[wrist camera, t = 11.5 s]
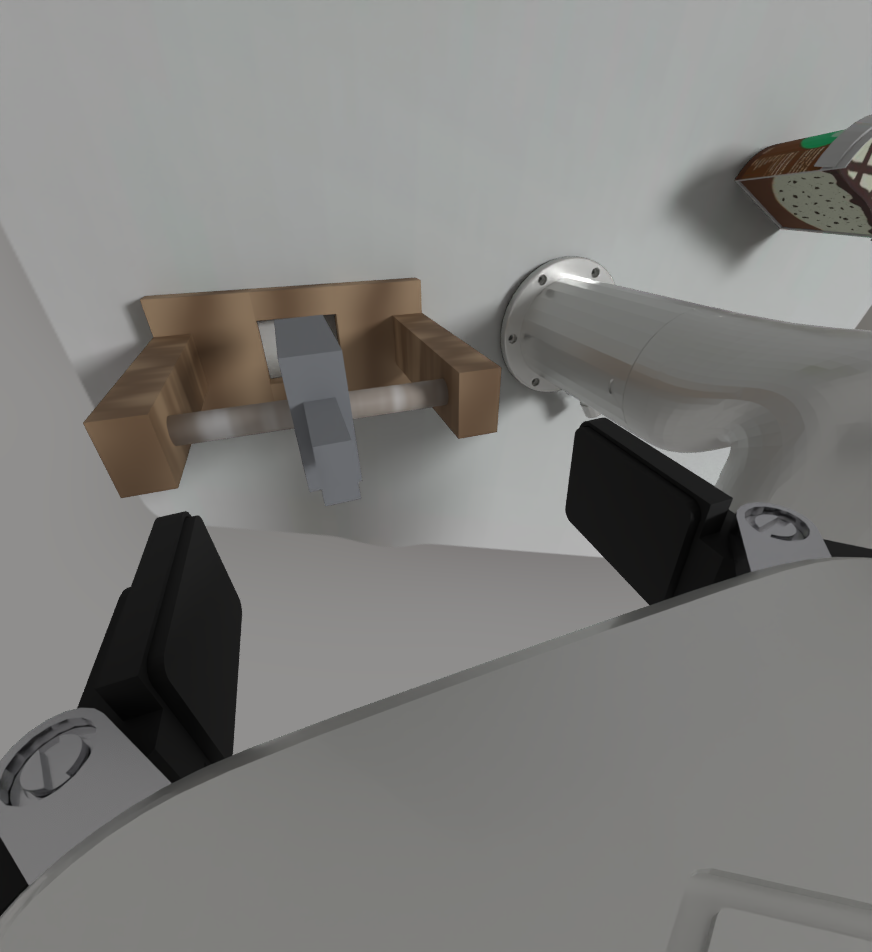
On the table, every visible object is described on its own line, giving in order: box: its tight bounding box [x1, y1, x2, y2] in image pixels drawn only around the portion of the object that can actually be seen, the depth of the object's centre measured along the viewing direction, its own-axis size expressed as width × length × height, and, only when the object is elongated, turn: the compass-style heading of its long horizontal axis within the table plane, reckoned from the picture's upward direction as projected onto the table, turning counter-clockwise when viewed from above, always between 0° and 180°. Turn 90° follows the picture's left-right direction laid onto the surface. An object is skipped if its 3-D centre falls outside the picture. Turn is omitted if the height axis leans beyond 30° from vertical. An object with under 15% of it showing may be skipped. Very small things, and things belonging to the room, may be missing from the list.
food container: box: [734, 115, 872, 241], centre depth 38 cm, size 12×6×10 cm, turn 64°
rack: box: [83, 278, 501, 498], centre depth 29 cm, size 20×9×16 cm, turn 91°
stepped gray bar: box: [274, 315, 362, 506], centre depth 24 cm, size 8×3×14 cm, turn 3°
